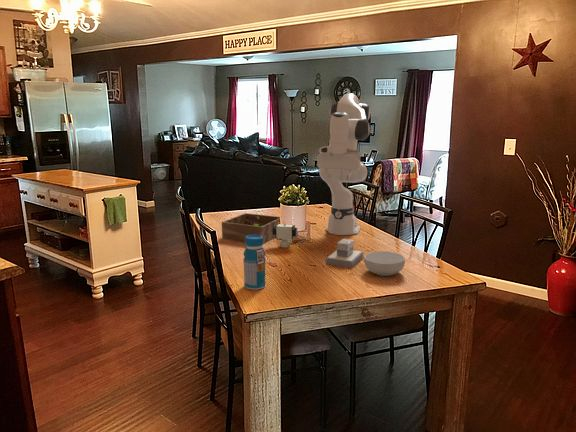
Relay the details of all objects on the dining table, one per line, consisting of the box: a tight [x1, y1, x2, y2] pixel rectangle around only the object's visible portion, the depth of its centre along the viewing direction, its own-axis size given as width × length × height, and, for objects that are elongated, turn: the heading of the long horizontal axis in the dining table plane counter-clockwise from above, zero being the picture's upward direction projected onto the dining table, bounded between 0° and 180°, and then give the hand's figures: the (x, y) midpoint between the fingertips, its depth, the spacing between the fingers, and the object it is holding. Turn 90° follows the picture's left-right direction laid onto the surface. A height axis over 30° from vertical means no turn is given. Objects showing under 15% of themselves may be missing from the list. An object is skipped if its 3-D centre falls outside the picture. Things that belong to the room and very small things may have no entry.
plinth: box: [325, 249, 364, 269], centre depth 214 cm, size 16×12×3 cm
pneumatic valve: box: [273, 222, 298, 249], centre depth 234 cm, size 6×12×12 cm, turn 79°
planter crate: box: [221, 212, 281, 245], centre depth 254 cm, size 24×24×9 cm
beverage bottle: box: [242, 235, 266, 291], centre depth 181 cm, size 8×8×20 cm
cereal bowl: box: [363, 250, 406, 277], centre depth 198 cm, size 17×17×7 cm
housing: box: [336, 238, 354, 257], centre depth 213 cm, size 8×5×6 cm, turn 154°
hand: (338, 178), depth 220 cm, fingers open, 8 cm apart
